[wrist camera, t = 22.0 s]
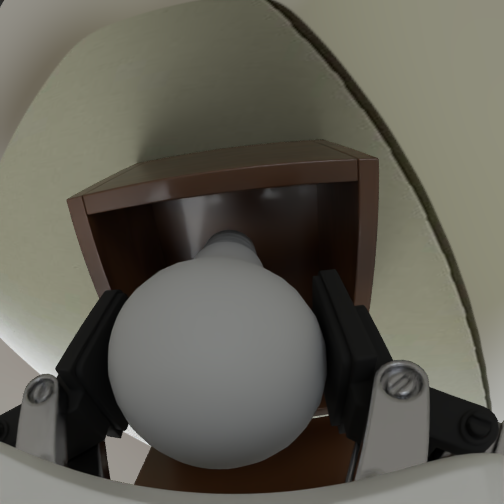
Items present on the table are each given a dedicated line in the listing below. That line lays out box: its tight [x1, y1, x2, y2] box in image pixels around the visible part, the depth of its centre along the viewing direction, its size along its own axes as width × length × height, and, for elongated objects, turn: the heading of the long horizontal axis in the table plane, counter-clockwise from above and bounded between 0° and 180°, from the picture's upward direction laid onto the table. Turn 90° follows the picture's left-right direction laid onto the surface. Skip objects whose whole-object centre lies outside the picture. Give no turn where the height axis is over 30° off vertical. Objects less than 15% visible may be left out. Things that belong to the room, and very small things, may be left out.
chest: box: [67, 140, 379, 416], centre depth 18 cm, size 16×13×9 cm
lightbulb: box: [108, 230, 327, 469], centre depth 10 cm, size 6×6×11 cm
